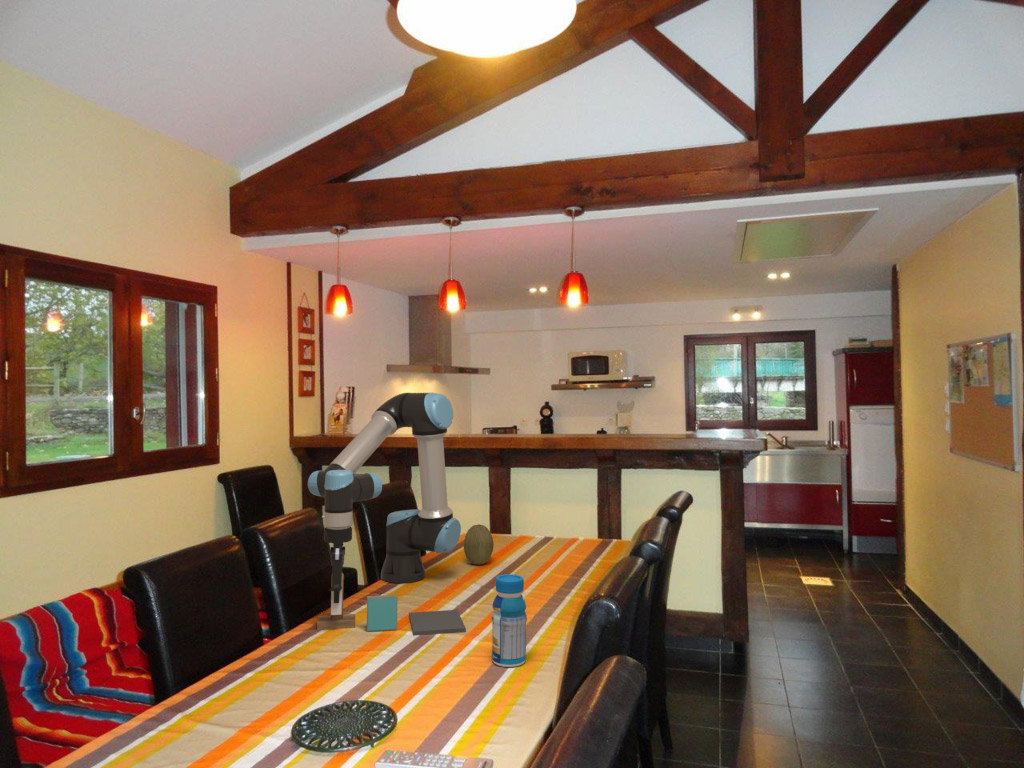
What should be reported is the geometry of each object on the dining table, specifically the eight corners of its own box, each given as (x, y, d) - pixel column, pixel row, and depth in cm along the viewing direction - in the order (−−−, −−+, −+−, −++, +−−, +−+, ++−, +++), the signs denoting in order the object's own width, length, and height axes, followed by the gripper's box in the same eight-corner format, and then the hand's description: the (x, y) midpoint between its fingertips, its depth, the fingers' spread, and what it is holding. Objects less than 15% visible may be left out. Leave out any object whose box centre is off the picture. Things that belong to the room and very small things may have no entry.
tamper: (318, 623, 189) (319, 572, 189) (355, 620, 191) (356, 570, 191) (317, 630, 183) (317, 578, 183) (355, 627, 185) (356, 576, 185)
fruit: (499, 563, 258) (499, 523, 258) (482, 569, 249) (482, 528, 249) (474, 559, 264) (475, 520, 265) (457, 565, 255) (457, 524, 255)
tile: (366, 629, 184) (367, 596, 184) (396, 627, 186) (396, 594, 186) (366, 632, 182) (367, 598, 182) (397, 630, 183) (397, 597, 184)
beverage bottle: (514, 671, 157) (515, 584, 157) (484, 663, 162) (485, 578, 162) (532, 659, 164) (533, 576, 165) (503, 652, 169) (504, 571, 169)
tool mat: (408, 616, 195) (408, 612, 195) (457, 613, 198) (457, 609, 198) (413, 635, 180) (413, 631, 180) (465, 631, 183) (465, 628, 183)
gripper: (325, 520, 197) (324, 597, 197) (322, 535, 176) (320, 622, 176) (352, 519, 199) (351, 596, 199) (351, 534, 178) (350, 620, 177)
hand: (336, 608), depth 187 cm, fingers open, 9 cm apart
